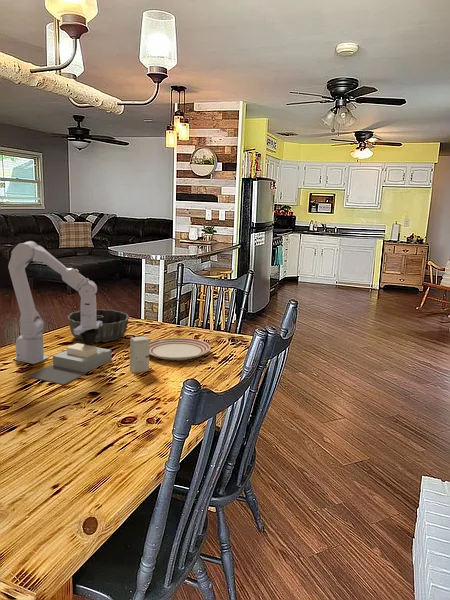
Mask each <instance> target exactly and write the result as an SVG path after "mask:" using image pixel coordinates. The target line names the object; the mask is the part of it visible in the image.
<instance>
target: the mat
mask: <svg viewBox="0 0 450 600" xmlns="http://www.w3.org/2000/svg"><path fill="white" fill-rule="evenodd" d="M87 374H88V372H81V371H76V370H72V369H67V368H62V367H58V366H53V364H51V365H47V366H46V367H43V368H41V369H37V370H35V371H33V372H31V373H29V374H26V375H25V377H27V378H30V379H35V380H40V381H43V382H44V381H45V382H47V383H52V384H53V383H54V384H57V385H62V386H65V385H66V384H68V383H71V382H73V381H74V380H77V379H78V378H82V377H83V376H85V375H87Z"/></svg>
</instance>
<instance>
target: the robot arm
mask: <svg viewBox="0 0 450 600" xmlns="http://www.w3.org/2000/svg"><path fill="white" fill-rule="evenodd" d="M30 262H36V263H37V262H39V263H40V262H41V263H43V264H45V265H47V267H49V268H50V269H52V270H53V271H54V272H56V273H57V274H59V275H61V280H62V281H63V282H64V283H65V284H67V285H68V286H69V287H71V288H72V289H74V290H75V291H76V292H78V294H79V297H80V306H79V307H80V308H79V309H80V311H81V325H80V326H78V327H77V328H76V329H74V334H75V335H81V337H82V339H83V341H82V342H83V344H84V345H90V346H94V343H95V342H94V339H95V337H96V335H97V333H98V330H97V328H99V326H100V327H101V326H102V321H96V310H97V295H96V294H97V292H98V286H97V284H96V283H95V281H93V280H90V278H88V277H87V278H86V277H85V276H84V275H82V274H81V273H80V272H79V271H80V270H78V268H73V267H67V266H65V265H64V264H63V263H62V262H61V261H60V260H59V259H57V258H56V257H55V256H53V255H52V254H51V253H50V252H49V251H47V250H46V249H45V248H44V247H43V246H41V245H38V244H37V242H35V241H33V240H29V241H28V240H27V241H25V242H22V243H21V242H20V243H18V244H17V245H15V247H14V248H13V249H12V250H11V257H10V260H9V262H8V266H7V267H8V271H9V275H10V279H11V280H10V281H11V282H12V286H13V290H14V293H15V297H16V301H17V305H18V309H19V312H20V318H19V322H20V327H19V333H20V335H19V336H18V337H17V338H16V341H15V358H14V361H18V362H23V363H28V364H32V365H35V364H37V363H40V362H43V361H44V360H45V361H46V360H48V359H50V358H49V356H47V355H45V354H44V334H43V332H42V331H43V329H44V328H45V321H44V320H43V319H42V317H41V315H40V313H39V312H38V310H37V309H36V305H35V302H34V299H33V295H32V290H31V288H30V284H29V281H28V277H27V276H28V275H27V272H26V268H27V266H28V265H29V264H30Z"/></svg>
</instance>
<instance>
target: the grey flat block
mask: <svg viewBox="0 0 450 600" xmlns="http://www.w3.org/2000/svg"><path fill="white" fill-rule="evenodd" d="M96 347H97V353H96V354H94V355H91V356H89V357H87V358H86V357H81V356H76V355H71V354H67V349H66V350H64V351H62V352H58V353H56V354H54V355H52V365H53V366H58V367H62V368H67V369H72V370H76V371H81V372H86V373H88V372H90V371H91V370H93V369H96V368H98V367H101V366H102V365H104V364H106V363H108V362H110V361H112V349H108V348H102V347H98V346H96Z"/></svg>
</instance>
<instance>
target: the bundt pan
mask: <svg viewBox="0 0 450 600" xmlns="http://www.w3.org/2000/svg"><path fill="white" fill-rule="evenodd" d="M66 317H67V320H68V323H69V325H68V326H69V331H70V332H71V334H72V336H73V337H74V338H75V339H77V340H79V341H81V342H84V341H83V339H82V337H81V335H75V334H74V329H76V328H77V327H78V326H80V325H81V310H78V311H74V312H71V313H70V314H68V315H66ZM130 318H131V317H130V316H129V315H128V314H127V313H125V312H122V311H118V310H114V309H102V308H100V309H96V321H102V326H101V327H100V326H99V328H97V330H98V333H97V335H96V337H95V339H94V343H96V344H99V342H101V343H107V342H115V341H116V340H118V339H121V338H122V337H123V336H124V335H125V334H126V332H127V328H128V323H129V319H130Z"/></svg>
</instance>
